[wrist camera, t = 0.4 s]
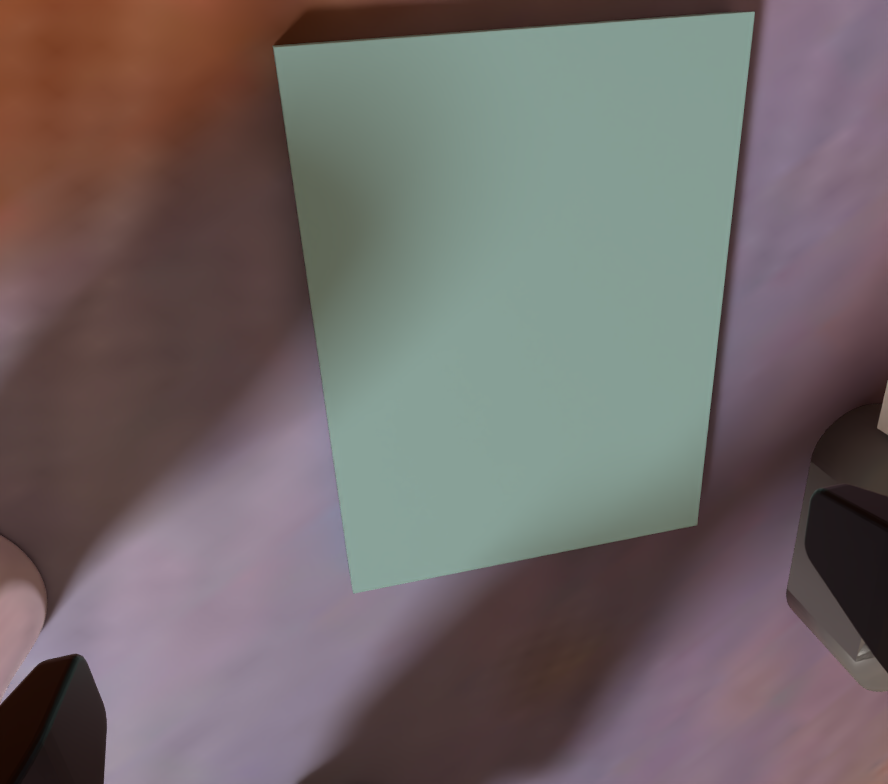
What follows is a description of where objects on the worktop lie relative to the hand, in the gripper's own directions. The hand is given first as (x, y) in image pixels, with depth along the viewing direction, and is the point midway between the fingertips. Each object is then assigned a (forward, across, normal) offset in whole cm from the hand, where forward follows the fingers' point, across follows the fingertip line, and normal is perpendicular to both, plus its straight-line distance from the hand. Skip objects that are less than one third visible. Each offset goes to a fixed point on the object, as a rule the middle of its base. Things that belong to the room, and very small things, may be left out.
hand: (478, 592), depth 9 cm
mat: (+13, -5, +2) cm, 14 cm away
